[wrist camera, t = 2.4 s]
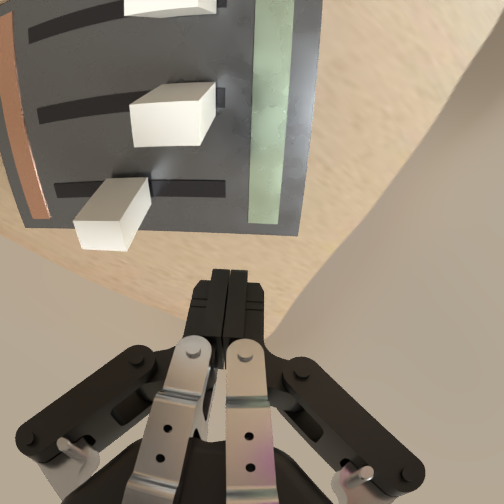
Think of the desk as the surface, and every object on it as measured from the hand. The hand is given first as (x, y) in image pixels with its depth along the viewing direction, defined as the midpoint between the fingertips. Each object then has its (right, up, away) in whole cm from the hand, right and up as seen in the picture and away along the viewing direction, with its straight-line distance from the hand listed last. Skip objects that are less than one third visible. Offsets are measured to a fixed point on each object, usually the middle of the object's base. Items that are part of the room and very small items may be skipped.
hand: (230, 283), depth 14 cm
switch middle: (-3, +10, +2) cm, 10 cm away
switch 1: (-7, +5, +6) cm, 11 cm away
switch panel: (-7, +12, +4) cm, 14 cm away
